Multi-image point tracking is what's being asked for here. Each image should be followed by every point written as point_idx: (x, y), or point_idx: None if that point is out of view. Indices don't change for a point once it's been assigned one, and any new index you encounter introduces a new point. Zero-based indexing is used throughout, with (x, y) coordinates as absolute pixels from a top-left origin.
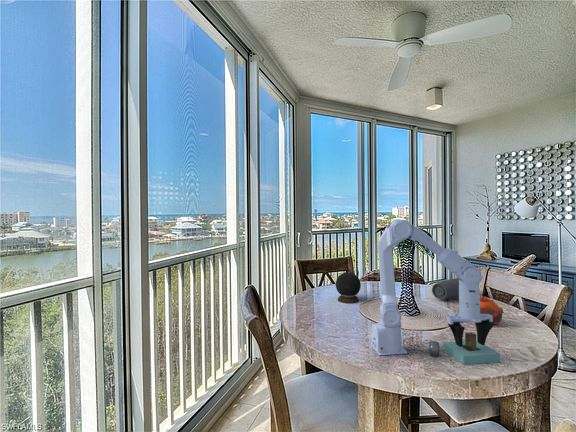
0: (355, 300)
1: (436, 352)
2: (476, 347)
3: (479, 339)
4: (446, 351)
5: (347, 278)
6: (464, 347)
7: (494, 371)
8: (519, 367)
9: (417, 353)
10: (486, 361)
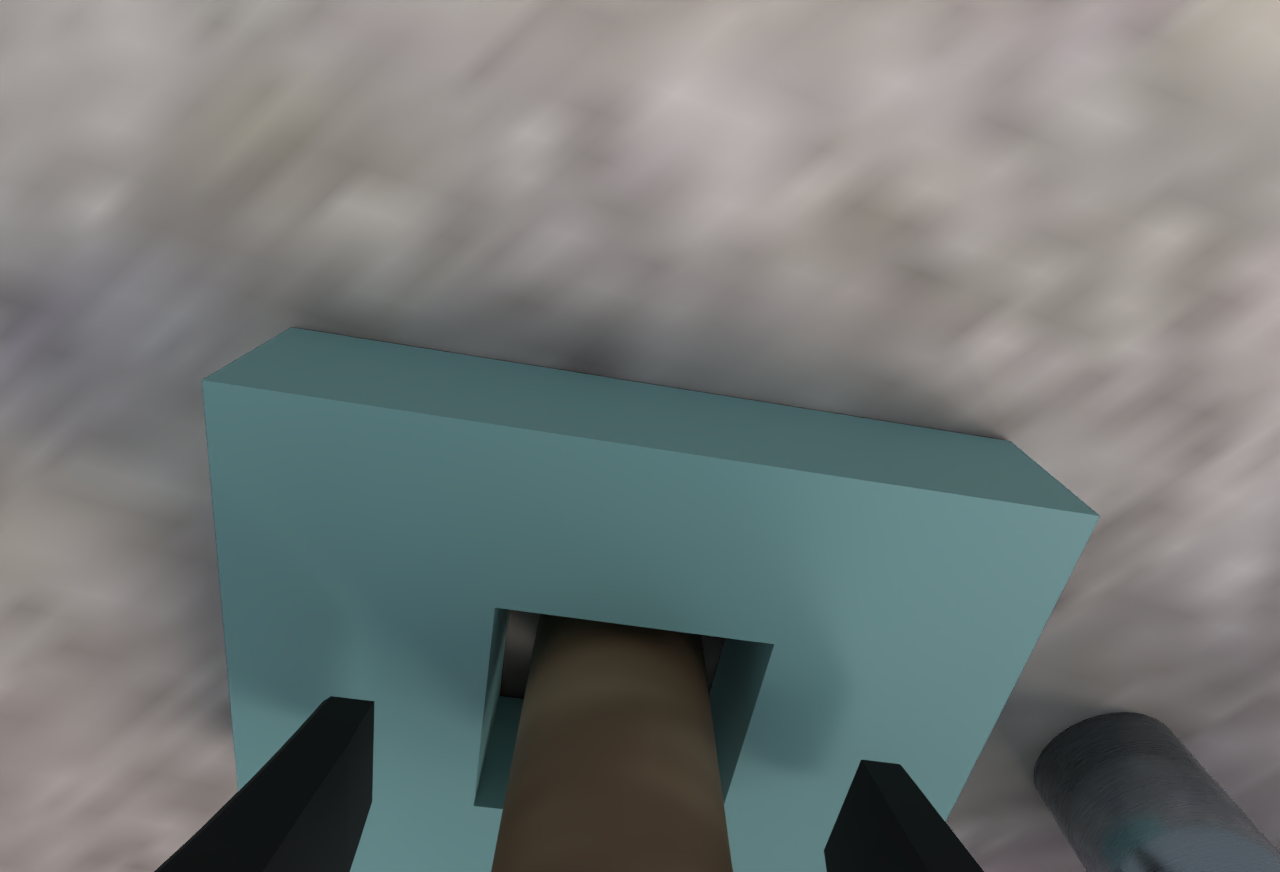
0: None
1: (1201, 778)
2: (483, 707)
3: (337, 854)
4: None
5: None
6: None
7: (737, 52)
8: (75, 4)
9: None
10: (576, 378)
